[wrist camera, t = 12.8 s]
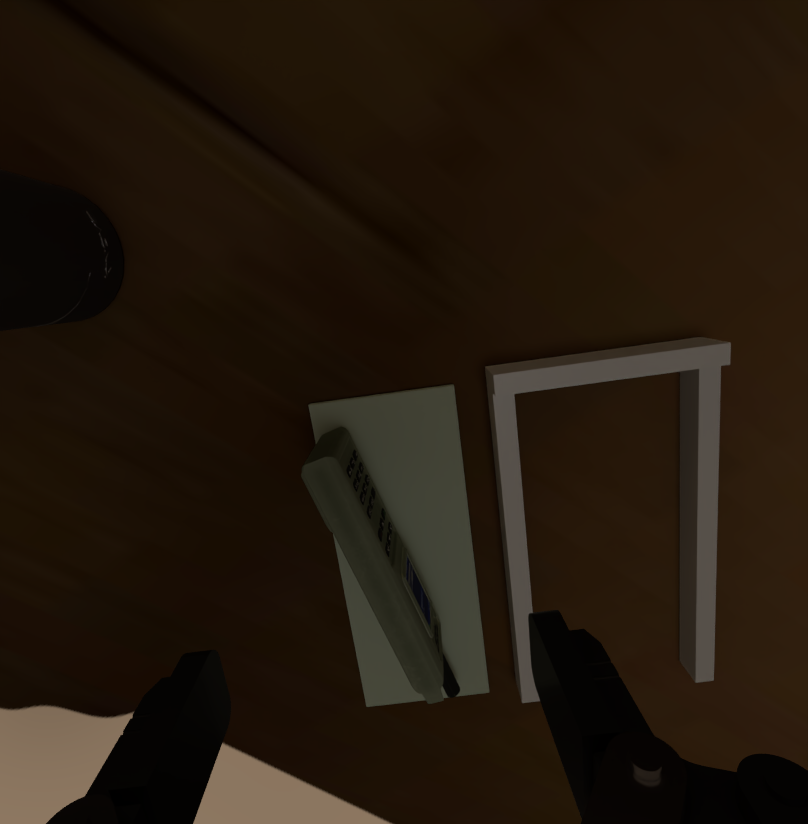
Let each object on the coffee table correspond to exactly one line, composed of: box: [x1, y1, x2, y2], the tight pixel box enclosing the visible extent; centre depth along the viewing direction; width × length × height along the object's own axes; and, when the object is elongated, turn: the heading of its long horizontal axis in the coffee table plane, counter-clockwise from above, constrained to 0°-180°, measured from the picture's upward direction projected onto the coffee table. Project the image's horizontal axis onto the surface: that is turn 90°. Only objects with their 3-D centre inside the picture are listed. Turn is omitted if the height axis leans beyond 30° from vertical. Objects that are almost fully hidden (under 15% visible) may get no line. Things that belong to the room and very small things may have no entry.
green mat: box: [308, 384, 489, 707], centre depth 41 cm, size 11×28×1 cm, turn 8°
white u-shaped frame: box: [485, 337, 731, 703], centre depth 39 cm, size 16×28×4 cm, turn 8°
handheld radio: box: [301, 426, 460, 704], centre depth 38 cm, size 7×3×25 cm
